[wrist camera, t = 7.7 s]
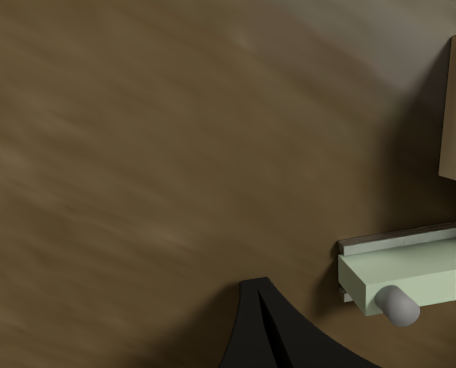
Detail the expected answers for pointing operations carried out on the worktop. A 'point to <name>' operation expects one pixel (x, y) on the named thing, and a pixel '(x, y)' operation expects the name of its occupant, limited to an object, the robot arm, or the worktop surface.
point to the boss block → (449, 121)
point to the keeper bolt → (400, 279)
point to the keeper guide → (394, 242)
